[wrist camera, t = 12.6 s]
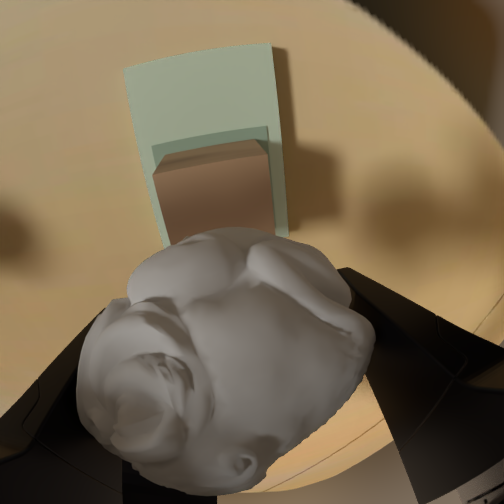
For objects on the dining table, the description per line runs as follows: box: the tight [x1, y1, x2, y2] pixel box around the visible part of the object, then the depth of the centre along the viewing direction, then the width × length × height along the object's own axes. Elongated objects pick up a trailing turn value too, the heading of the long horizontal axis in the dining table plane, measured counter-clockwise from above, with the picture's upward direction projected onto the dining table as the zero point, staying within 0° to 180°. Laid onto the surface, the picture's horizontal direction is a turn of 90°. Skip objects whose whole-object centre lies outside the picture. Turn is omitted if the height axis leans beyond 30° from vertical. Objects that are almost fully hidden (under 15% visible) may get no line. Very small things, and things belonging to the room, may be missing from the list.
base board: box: [123, 43, 289, 249], centre depth 16 cm, size 12×8×1 cm, turn 7°
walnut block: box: [152, 139, 276, 245], centre depth 15 cm, size 5×5×4 cm
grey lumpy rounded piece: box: [76, 227, 376, 496], centre depth 7 cm, size 6×7×7 cm
